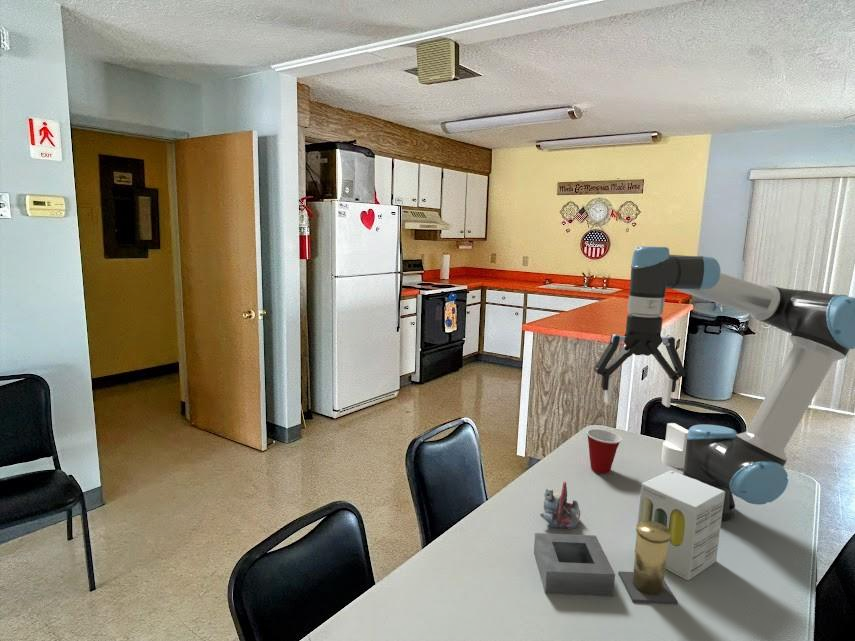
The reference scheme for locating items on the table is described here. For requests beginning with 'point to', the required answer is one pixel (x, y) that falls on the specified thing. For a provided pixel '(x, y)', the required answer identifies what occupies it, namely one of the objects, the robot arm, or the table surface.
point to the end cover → (650, 557)
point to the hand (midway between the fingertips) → (636, 404)
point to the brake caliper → (560, 509)
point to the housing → (573, 565)
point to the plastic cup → (602, 449)
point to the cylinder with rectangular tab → (674, 446)
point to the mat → (638, 596)
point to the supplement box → (684, 520)
